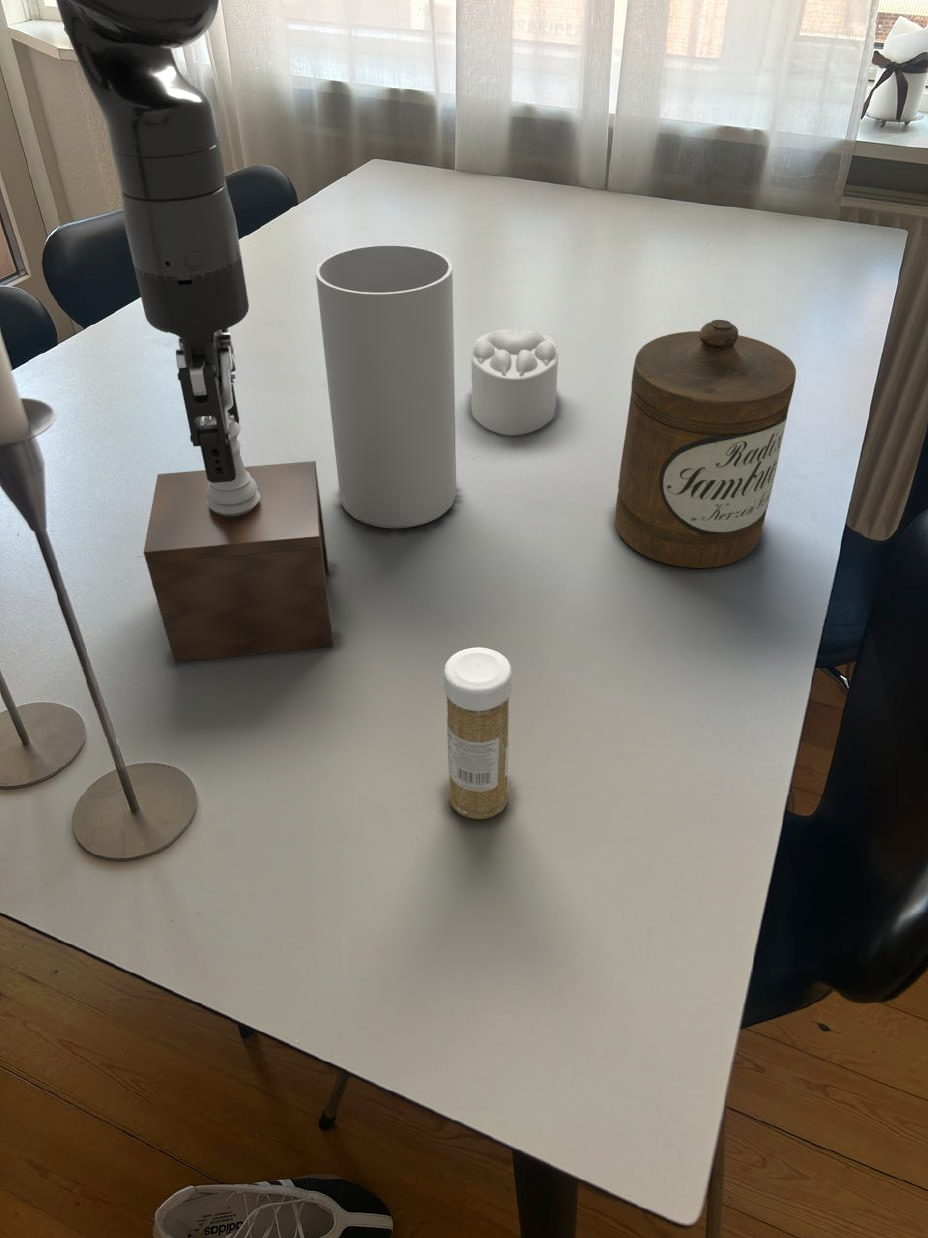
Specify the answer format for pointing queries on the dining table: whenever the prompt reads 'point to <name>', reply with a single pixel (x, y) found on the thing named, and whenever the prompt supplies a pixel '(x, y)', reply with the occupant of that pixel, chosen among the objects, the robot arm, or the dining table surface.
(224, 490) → the rook chess piece
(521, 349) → the lumpy-topped squat cylinder
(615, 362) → the dining table surface
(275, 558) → the wooden lidded box
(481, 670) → the sprinkles bottle
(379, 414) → the cylinder vase
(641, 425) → the wooden container
